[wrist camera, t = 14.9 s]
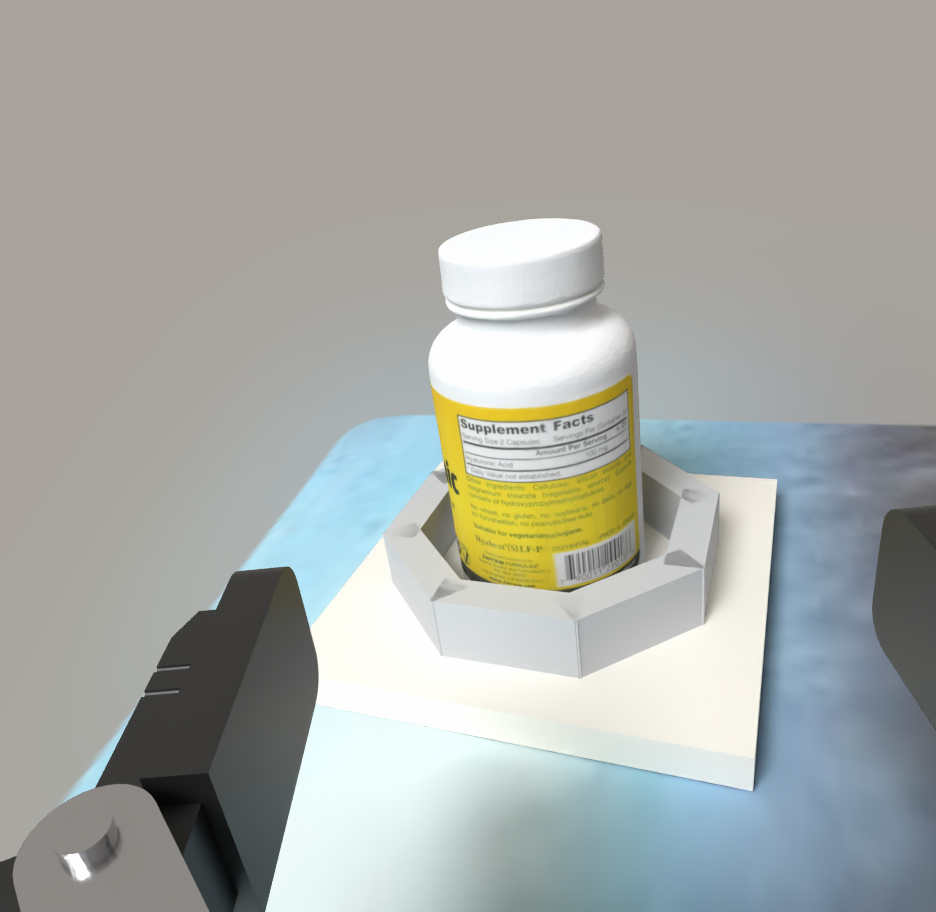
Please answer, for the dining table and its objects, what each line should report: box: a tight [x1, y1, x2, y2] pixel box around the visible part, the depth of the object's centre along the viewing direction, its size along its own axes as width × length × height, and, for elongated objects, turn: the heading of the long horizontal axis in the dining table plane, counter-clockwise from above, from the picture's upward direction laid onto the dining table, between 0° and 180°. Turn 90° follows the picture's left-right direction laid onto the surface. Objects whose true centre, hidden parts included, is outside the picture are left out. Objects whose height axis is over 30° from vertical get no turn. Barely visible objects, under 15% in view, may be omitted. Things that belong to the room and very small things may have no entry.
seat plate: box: [310, 445, 777, 791], centre depth 24 cm, size 12×12×3 cm
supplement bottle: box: [428, 218, 644, 593], centre depth 22 cm, size 5×5×10 cm
